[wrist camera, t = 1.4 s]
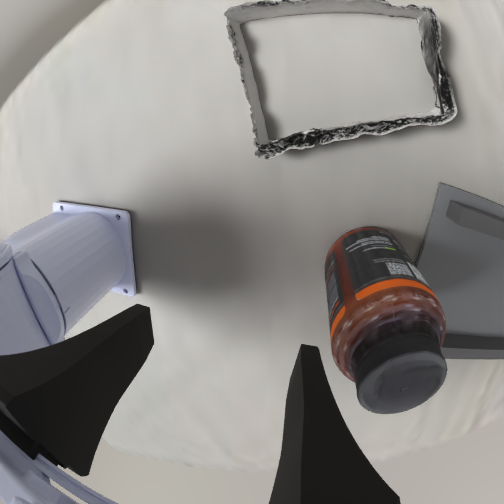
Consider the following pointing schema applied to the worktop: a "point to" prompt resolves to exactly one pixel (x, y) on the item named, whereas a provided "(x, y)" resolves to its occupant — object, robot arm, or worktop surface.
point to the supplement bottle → (383, 322)
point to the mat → (466, 272)
